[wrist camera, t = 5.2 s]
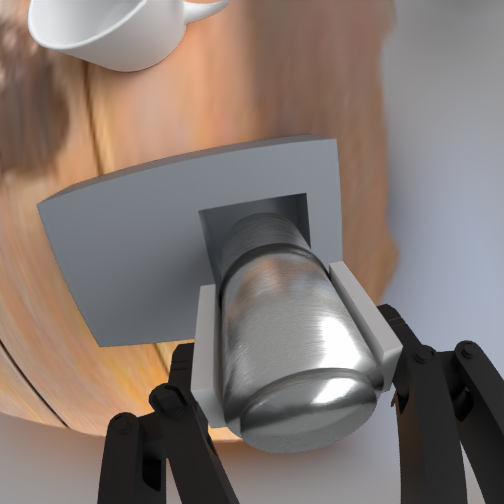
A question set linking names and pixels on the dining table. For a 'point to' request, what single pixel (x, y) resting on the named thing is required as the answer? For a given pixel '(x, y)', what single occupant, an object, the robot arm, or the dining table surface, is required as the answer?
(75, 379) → the dining table surface
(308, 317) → the silver can
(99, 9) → the mug
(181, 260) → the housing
